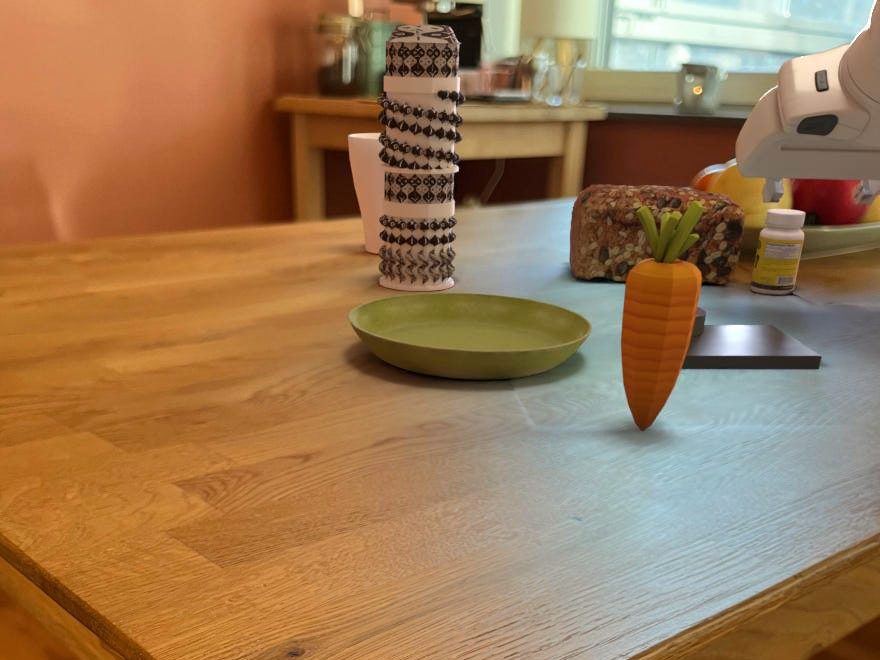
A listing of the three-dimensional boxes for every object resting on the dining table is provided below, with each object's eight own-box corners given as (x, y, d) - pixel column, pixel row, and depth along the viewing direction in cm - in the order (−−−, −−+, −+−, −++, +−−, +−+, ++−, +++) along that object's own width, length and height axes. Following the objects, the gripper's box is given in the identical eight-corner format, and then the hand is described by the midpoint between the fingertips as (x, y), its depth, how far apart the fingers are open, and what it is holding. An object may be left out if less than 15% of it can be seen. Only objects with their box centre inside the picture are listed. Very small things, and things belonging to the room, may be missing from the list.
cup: (403, 261, 127) (405, 140, 120) (333, 252, 131) (331, 136, 124) (443, 249, 134) (447, 136, 128) (375, 241, 139) (375, 131, 132)
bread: (573, 282, 117) (583, 188, 112) (565, 266, 126) (573, 178, 121) (737, 287, 116) (754, 193, 111) (716, 270, 125) (731, 182, 120)
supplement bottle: (755, 285, 118) (770, 207, 113) (797, 290, 116) (813, 210, 111) (744, 292, 114) (759, 211, 110) (787, 297, 112) (804, 215, 108)
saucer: (326, 381, 81) (326, 340, 79) (369, 321, 98) (370, 287, 97) (590, 397, 78) (595, 355, 77) (586, 333, 96) (589, 298, 94)
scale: (766, 335, 97) (772, 303, 95) (818, 370, 86) (827, 334, 85) (627, 335, 96) (631, 302, 94) (663, 369, 85) (669, 333, 84)
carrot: (593, 429, 72) (619, 198, 64) (633, 414, 75) (663, 193, 67) (653, 446, 69) (688, 207, 61) (692, 430, 72) (731, 201, 64)
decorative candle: (443, 274, 120) (452, 26, 107) (467, 290, 112) (481, 25, 99) (367, 276, 118) (368, 24, 105) (387, 293, 110) (390, 23, 97)
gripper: (992, 66, 91) (912, 174, 104) (765, 60, 90) (714, 169, 104) (1002, 125, 89) (920, 227, 103) (771, 119, 89) (719, 223, 102)
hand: (815, 198), depth 103 cm, fingers open, 8 cm apart
